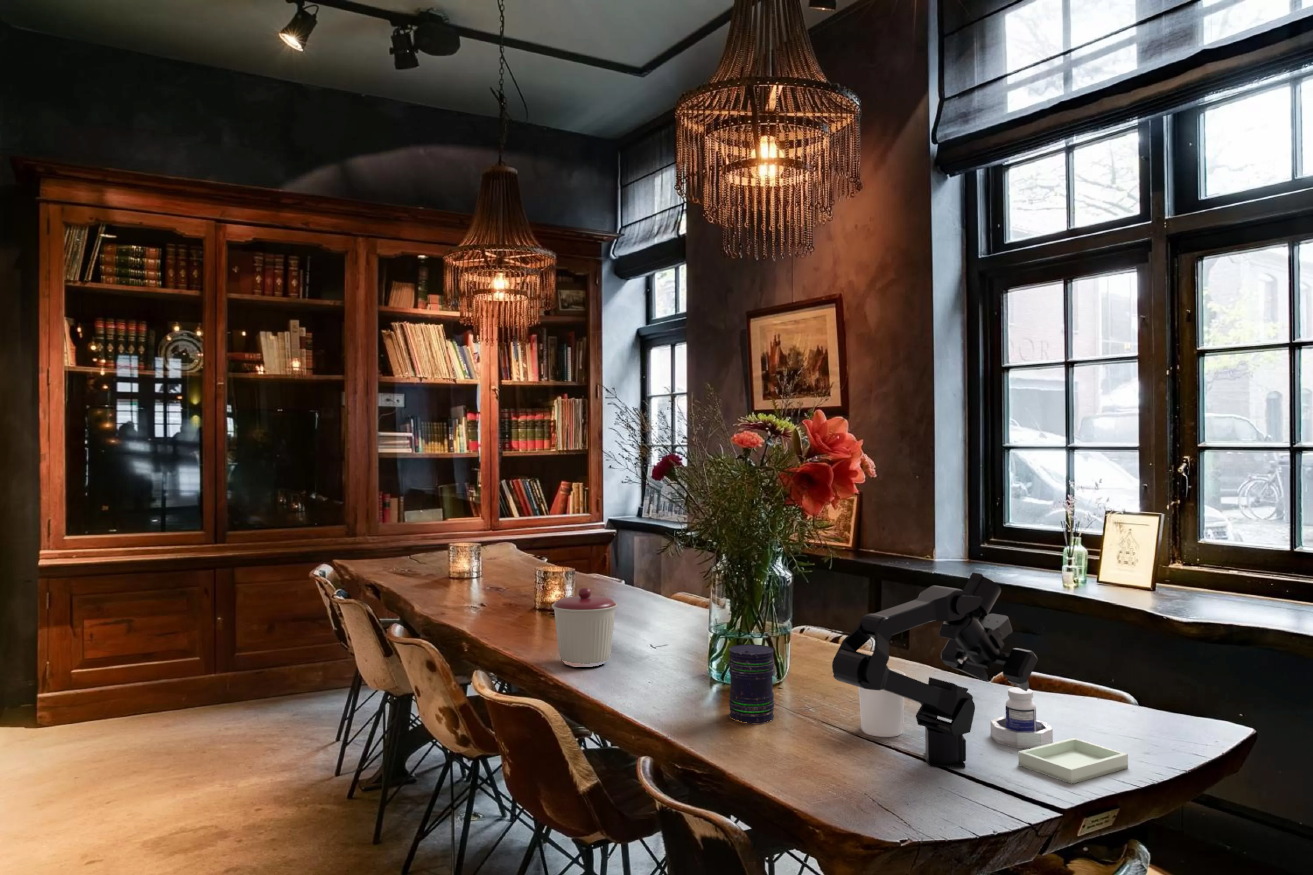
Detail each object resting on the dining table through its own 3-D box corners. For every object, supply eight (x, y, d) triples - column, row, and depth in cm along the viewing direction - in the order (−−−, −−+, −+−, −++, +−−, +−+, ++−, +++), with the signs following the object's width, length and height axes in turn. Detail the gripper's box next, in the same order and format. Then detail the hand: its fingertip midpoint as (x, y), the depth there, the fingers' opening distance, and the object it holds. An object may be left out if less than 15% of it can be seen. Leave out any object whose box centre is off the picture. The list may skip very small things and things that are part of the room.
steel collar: (1000, 747, 176) (1000, 732, 176) (986, 730, 187) (986, 715, 187) (1058, 749, 175) (1057, 733, 175) (1040, 731, 185) (1040, 717, 185)
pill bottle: (1011, 733, 185) (1010, 684, 185) (1040, 738, 181) (1039, 689, 181) (1001, 740, 180) (1001, 690, 180) (1031, 746, 177) (1030, 695, 177)
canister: (538, 663, 247) (538, 587, 248) (590, 653, 260) (590, 580, 260) (578, 675, 234) (578, 594, 234) (631, 664, 246) (631, 587, 246)
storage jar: (738, 708, 203) (738, 642, 204) (780, 714, 199) (779, 646, 199) (722, 720, 194) (721, 651, 195) (765, 726, 190) (765, 655, 190)
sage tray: (1071, 784, 156) (1071, 769, 156) (1018, 764, 166) (1018, 751, 166) (1128, 767, 164) (1127, 753, 164) (1074, 750, 174) (1073, 737, 174)
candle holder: (848, 727, 189) (847, 670, 189) (886, 721, 193) (885, 665, 193) (877, 740, 180) (876, 680, 180) (916, 734, 184) (915, 675, 184)
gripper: (1031, 608, 168) (1066, 660, 174) (949, 595, 183) (984, 643, 189) (1005, 656, 163) (1042, 707, 169) (923, 639, 179) (960, 686, 185)
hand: (1006, 683), depth 178 cm, fingers open, 9 cm apart
